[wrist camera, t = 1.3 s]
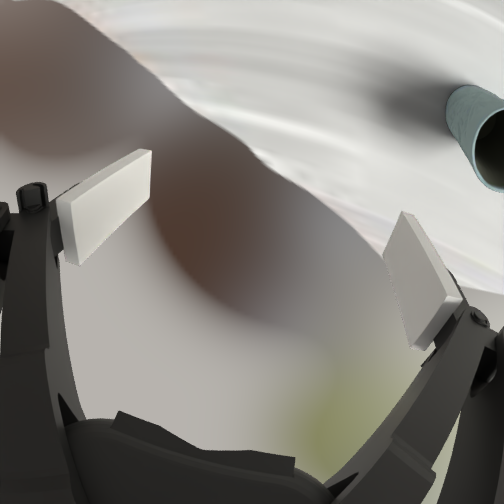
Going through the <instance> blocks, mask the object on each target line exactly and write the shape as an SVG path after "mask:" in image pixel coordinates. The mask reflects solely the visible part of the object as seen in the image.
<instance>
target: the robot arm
mask: <svg viewBox="0 0 504 504" xmlns="http://www.w3.org/2000/svg"><path fill="white" fill-rule="evenodd" d="M151 156H152V151H151V150H145V149H138V150H136V151H134V152H132V153H130V154H128V155H127V156H125V157H123V158H121V159H119V160H118V161H116V162H114V163H112V164H111V165H109V166H108V167H106V168H104V169H102V170H100V171H99V172H97V173H95V174H94V175H92V176H91V177H89V178H87V179H86V180H84V181H83V182H81V183H78V184H76V185H74V186H73V187H71V188H70V189H69V190H67V191H65V192H64V193H63V194H61V195H59V196H58V197H56V198H55V199H53V200H52V201H51V202H49V201H48V193H47V186H46V184H45V183H41V182H35V183H30V184H27V185H24V186H22V187H21V188H19V189H18V190H17V191H16V195H17V202H18V207H19V213H10V211H9V206H8V203H6V202H0V313H1V310H2V322H1V348H0V351H1V352H0V504H421V502H422V501H423V499H424V498H425V496H426V495H427V493H428V491H429V490H430V488H431V486H432V485H433V483H434V481H435V478H436V473H435V472H434V471H433V470H431V468H432V466H433V464H434V462H435V460H436V459H437V457H438V455H439V453H440V451H441V450H442V448H443V446H444V444H445V442H446V440H447V438H448V436H449V434H450V432H451V430H452V428H453V426H454V424H455V422H456V419H457V418H458V415H459V413H460V411H461V413H460V419H459V424H458V430H457V434H456V439H455V443H454V448H453V452H452V456H451V460H450V463H449V467H448V471H447V474H446V477H445V481H444V484H443V487H442V490H441V493H440V496H439V499H438V502H437V504H504V327H503V328H502V329H501V330H500V332H499V333H497V332H495V331H493V330H491V329H490V324H489V321H488V319H487V318H486V316H485V315H484V314H483V313H482V312H481V311H480V310H478V309H477V308H475V307H471V306H469V304H468V302H467V300H466V298H465V297H464V295H463V293H462V291H461V290H460V287H459V285H458V284H457V281H456V279H455V278H454V276H453V274H452V273H451V272H450V271H449V270H448V269H447V268H446V267H445V265H444V263H443V261H442V260H441V258H440V256H439V254H438V253H437V251H436V249H435V248H434V246H433V244H432V243H431V241H430V239H429V238H428V236H427V235H426V233H425V231H424V230H423V228H422V227H421V225H420V224H419V222H418V221H417V219H416V218H415V216H414V215H412V214H409V213H406V212H403V211H401V214H400V216H399V218H398V221H397V223H396V225H395V228H394V230H393V232H392V234H391V237H390V239H389V241H388V243H387V246H386V248H385V250H384V252H383V254H382V256H383V259H384V261H385V264H386V267H387V270H388V273H389V276H390V279H391V283H392V286H393V289H394V292H395V295H396V299H397V302H398V306H399V309H400V312H401V316H402V320H403V323H404V327H405V331H406V335H407V338H408V342H409V347H410V349H416V350H423V351H425V350H426V349H427V348H428V347H429V345H430V344H431V343H432V342H433V340H434V343H435V346H436V348H435V349H434V351H433V352H432V353H431V354H430V356H429V357H428V358H427V359H426V361H424V363H423V364H422V365H421V367H422V369H421V371H420V372H419V373H418V375H417V376H416V378H415V379H414V381H413V382H412V384H411V385H410V387H409V388H408V389H407V391H406V392H405V394H404V395H403V396H402V398H401V399H400V400H399V402H398V403H397V404H396V406H395V407H394V408H393V410H392V411H391V412H390V414H389V415H388V416H387V417H386V419H385V420H384V421H383V422H382V424H381V425H380V426H379V428H378V429H377V430H376V431H375V432H374V433H373V435H372V436H371V437H370V438H369V439H368V440H367V442H366V443H365V444H364V445H363V446H362V447H361V448H360V449H359V451H358V452H357V453H356V454H355V455H354V456H353V457H352V458H351V459H350V460H349V461H348V462H347V463H346V464H345V466H344V467H343V468H342V469H341V470H339V472H337V473H336V474H335V475H334V476H332V477H331V478H330V479H329V480H327V481H326V482H325V483H324V484H322V483H320V482H319V481H318V480H317V479H315V478H314V477H312V476H311V475H309V474H308V473H305V472H304V471H302V470H300V469H297V468H295V467H294V465H295V457H290V456H282V455H276V454H270V453H264V452H258V451H252V450H242V451H214V450H211V451H210V450H202V449H199V448H196V447H195V446H193V445H191V444H190V443H188V442H186V441H184V440H182V439H181V438H179V437H177V436H176V435H174V434H172V433H170V432H169V431H167V430H165V429H164V428H162V427H161V426H159V425H156V424H153V423H150V422H147V421H145V420H142V419H139V418H136V417H134V416H131V415H129V414H126V413H124V412H121V411H118V413H117V415H116V417H115V419H101V418H100V419H88V420H86V417H85V415H84V413H83V410H82V408H81V405H80V402H79V398H78V394H77V390H76V386H75V381H74V377H73V372H72V367H71V361H70V357H69V350H68V344H67V338H66V331H65V324H64V315H63V307H62V296H61V283H60V265H59V258H58V253H60V252H61V251H62V250H64V254H65V259H66V261H67V262H69V263H72V264H75V265H78V266H81V265H82V263H83V262H84V261H85V260H86V259H87V258H88V257H89V256H90V255H91V254H92V253H93V252H94V251H95V250H96V249H97V248H98V247H99V246H100V245H101V244H102V243H103V242H104V241H105V239H107V238H108V237H109V236H110V235H111V234H112V233H113V232H114V231H115V230H116V229H117V228H118V227H119V226H120V225H121V224H122V223H123V222H124V221H125V220H126V219H127V218H128V217H129V216H131V215H132V214H133V213H134V212H135V211H136V210H137V209H138V208H139V207H140V206H141V205H142V204H143V203H144V202H146V201H147V200H148V199H149V197H150V174H151ZM2 307H3V309H2Z"/></svg>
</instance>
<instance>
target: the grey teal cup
mask: <svg viewBox="0 0 504 504" xmlns="http://www.w3.org/2000/svg"><path fill="white" fill-rule="evenodd" d="M445 113H446V115H445V116H446V121H447V125H448V127H449V129H450V131H451V132H452V134H453V136H454V137H455V138H456V140H457V141H458V143H459V145H460V147H461V148H462V150H463V152H464V153H465V155H466V157H467V158H468V160H469V162H470V164H471V165H472V167H473V169H474V171H475V173H476V175H477V177H478V178H479V180H480V181H481V182H482V183H483V184H484V185H485V186H486V187H488V188H489V189H491V190H493V191H496V192H499V193H504V100H503V99H501V98H499V97H498V96H496V95H495V94H493V93H491V92H489V91H487V90H485V89H483V88H480V87H477V86H471V85H466V86H462V87H460V88H458V89H457V90H455V91H454V92H453V94H451V96H450V97H449V100H448V102H447V105H446V112H445Z"/></svg>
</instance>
